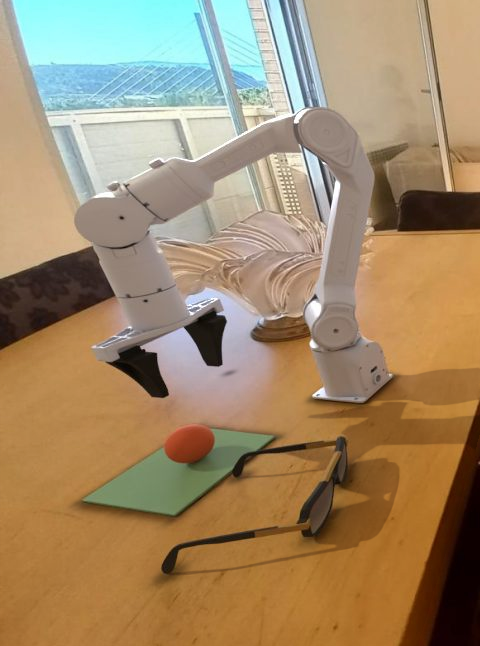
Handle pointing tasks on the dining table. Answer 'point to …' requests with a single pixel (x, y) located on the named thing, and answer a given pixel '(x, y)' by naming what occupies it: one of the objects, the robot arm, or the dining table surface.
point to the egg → (189, 443)
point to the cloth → (176, 476)
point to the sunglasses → (311, 512)
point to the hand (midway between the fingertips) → (189, 379)
